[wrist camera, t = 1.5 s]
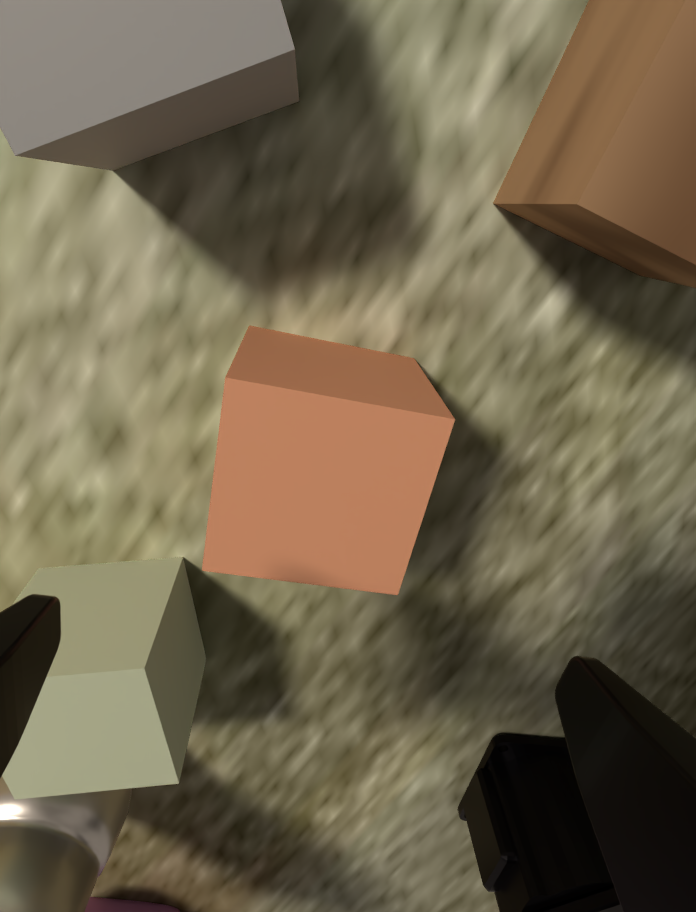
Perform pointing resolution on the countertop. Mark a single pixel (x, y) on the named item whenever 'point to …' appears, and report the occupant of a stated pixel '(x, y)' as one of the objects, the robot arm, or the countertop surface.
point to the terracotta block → (322, 463)
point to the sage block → (113, 681)
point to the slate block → (137, 74)
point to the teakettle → (125, 906)
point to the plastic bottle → (56, 847)
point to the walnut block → (618, 140)
